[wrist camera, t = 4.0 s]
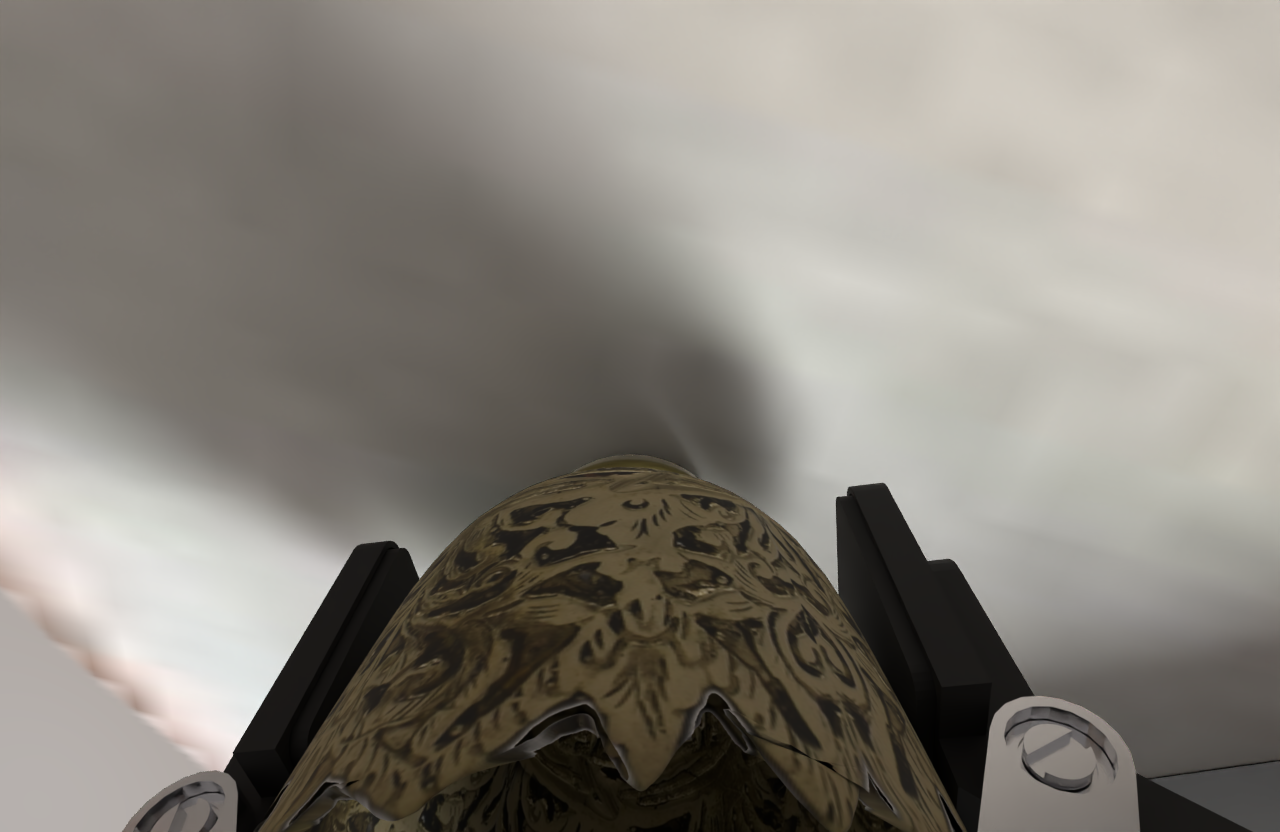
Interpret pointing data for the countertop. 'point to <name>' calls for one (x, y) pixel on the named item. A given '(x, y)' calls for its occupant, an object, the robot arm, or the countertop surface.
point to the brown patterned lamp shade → (618, 681)
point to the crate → (1235, 793)
